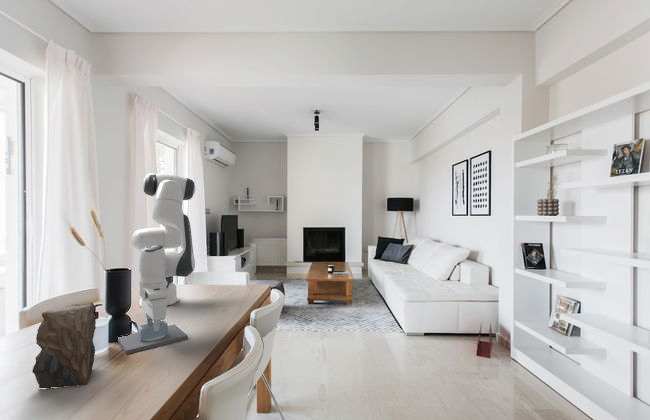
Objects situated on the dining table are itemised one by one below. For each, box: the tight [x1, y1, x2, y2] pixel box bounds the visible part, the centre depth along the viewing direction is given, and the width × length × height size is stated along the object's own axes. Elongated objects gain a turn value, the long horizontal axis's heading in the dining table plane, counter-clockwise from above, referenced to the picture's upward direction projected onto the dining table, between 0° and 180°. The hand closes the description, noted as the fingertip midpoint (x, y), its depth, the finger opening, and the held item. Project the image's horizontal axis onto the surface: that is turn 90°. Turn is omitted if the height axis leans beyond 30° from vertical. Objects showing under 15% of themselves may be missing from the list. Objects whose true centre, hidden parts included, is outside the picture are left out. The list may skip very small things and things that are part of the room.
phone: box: [137, 320, 169, 341], centre depth 121 cm, size 5×9×4 cm, turn 131°
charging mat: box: [117, 324, 189, 355], centre depth 121 cm, size 16×20×1 cm
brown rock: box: [31, 302, 97, 389], centre depth 94 cm, size 13×13×20 cm
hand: (152, 326), depth 121 cm, fingers open, 8 cm apart
